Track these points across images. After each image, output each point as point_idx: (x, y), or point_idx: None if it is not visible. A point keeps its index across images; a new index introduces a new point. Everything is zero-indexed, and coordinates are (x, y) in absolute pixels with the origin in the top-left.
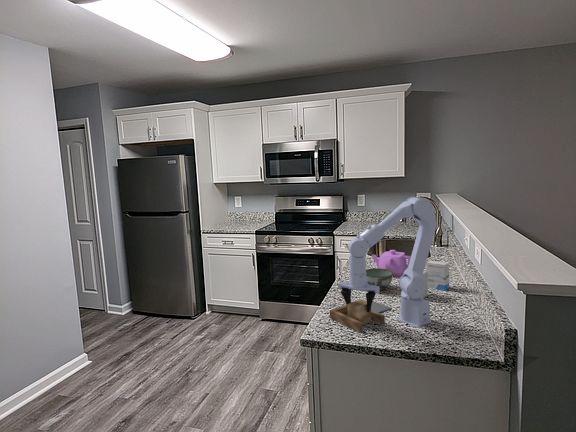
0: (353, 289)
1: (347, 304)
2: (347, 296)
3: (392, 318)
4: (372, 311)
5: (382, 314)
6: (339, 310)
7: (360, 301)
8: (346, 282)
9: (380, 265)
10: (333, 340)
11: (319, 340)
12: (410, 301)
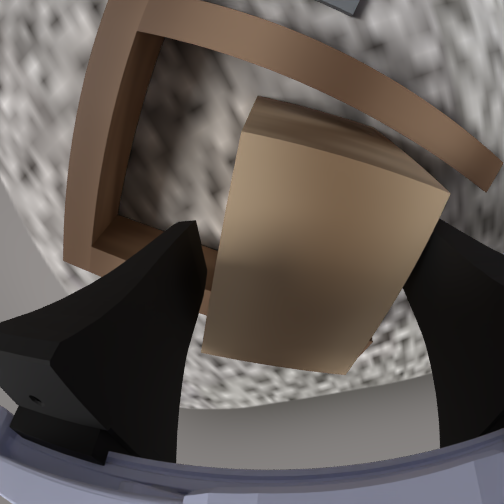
0: (220, 484)
1: (203, 351)
2: (174, 410)
3: (492, 37)
4: (403, 110)
5: (490, 156)
6: (99, 205)
7: (307, 228)
8: (1, 495)
9: None
10: (263, 398)
11: (217, 408)
12: None
